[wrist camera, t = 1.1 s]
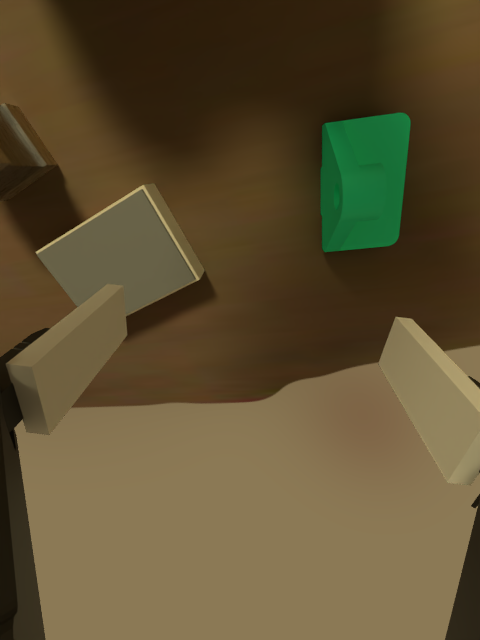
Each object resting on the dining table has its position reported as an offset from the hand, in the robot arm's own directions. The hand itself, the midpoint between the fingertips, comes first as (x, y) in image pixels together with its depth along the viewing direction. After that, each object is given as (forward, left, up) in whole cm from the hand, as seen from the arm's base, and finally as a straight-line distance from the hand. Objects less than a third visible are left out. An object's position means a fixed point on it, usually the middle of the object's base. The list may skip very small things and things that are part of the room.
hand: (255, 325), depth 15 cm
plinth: (-5, -15, -23) cm, 28 cm away
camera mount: (0, +12, -23) cm, 26 cm away
